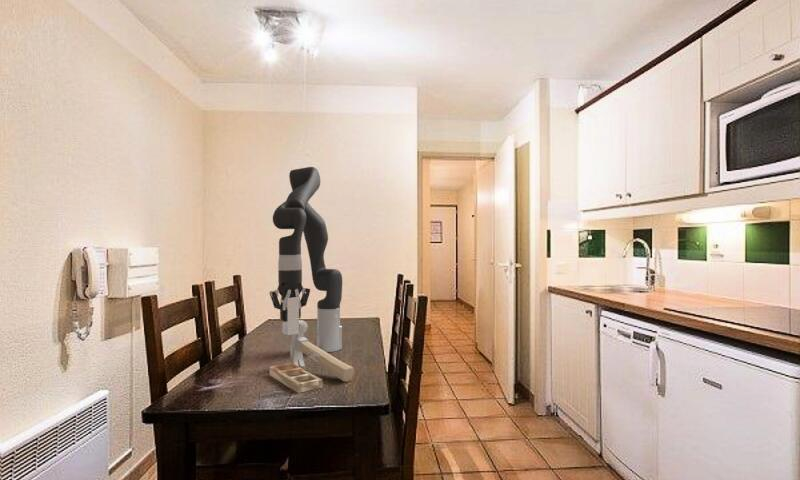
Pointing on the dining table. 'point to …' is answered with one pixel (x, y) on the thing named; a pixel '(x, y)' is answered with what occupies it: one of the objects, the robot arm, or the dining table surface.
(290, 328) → the steel peg
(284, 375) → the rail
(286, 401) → the dining table surface
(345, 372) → the hammer
